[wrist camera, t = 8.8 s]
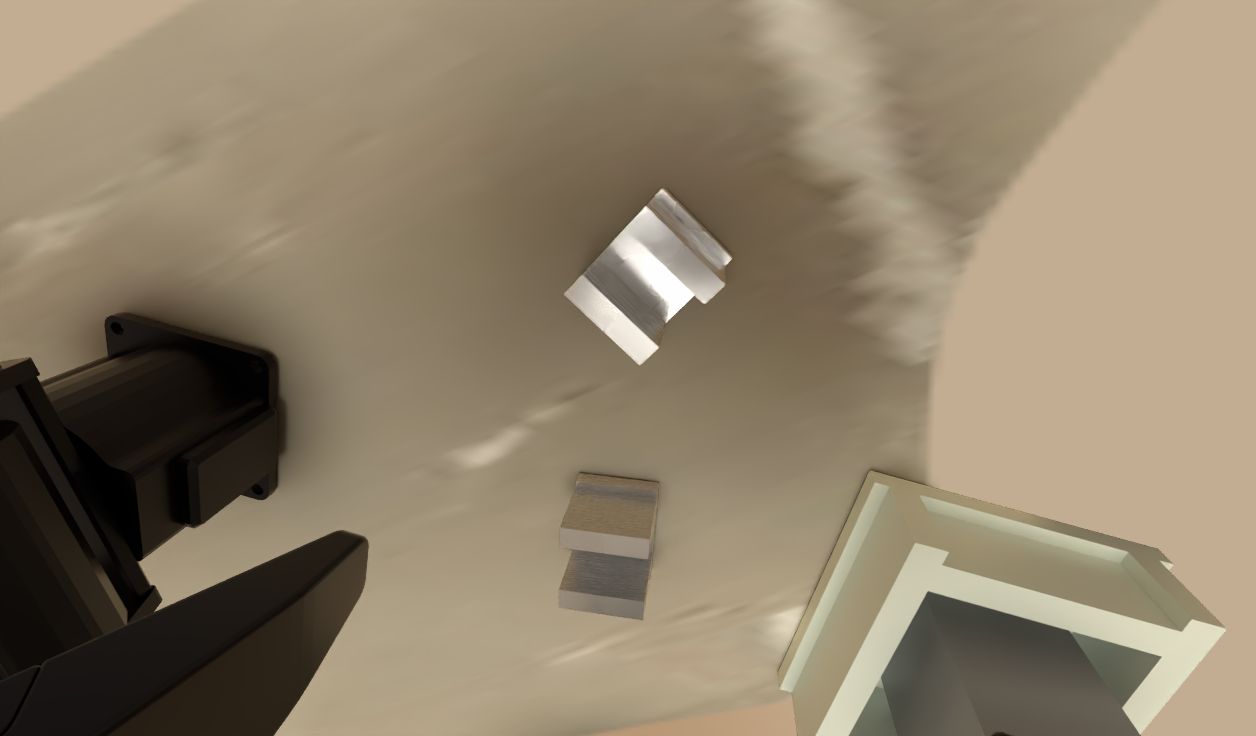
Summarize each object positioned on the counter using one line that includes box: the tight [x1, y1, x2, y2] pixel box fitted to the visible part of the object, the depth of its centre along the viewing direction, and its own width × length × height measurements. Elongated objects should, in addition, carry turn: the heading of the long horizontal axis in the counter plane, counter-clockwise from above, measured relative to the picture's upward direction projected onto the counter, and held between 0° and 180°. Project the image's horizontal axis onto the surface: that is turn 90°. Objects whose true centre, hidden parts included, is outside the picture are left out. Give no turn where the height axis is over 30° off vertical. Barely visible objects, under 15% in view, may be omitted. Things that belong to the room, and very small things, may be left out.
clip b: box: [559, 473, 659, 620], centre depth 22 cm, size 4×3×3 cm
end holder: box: [778, 470, 1227, 736], centre depth 22 cm, size 10×10×4 cm
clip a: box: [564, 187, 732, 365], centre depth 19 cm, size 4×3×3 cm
